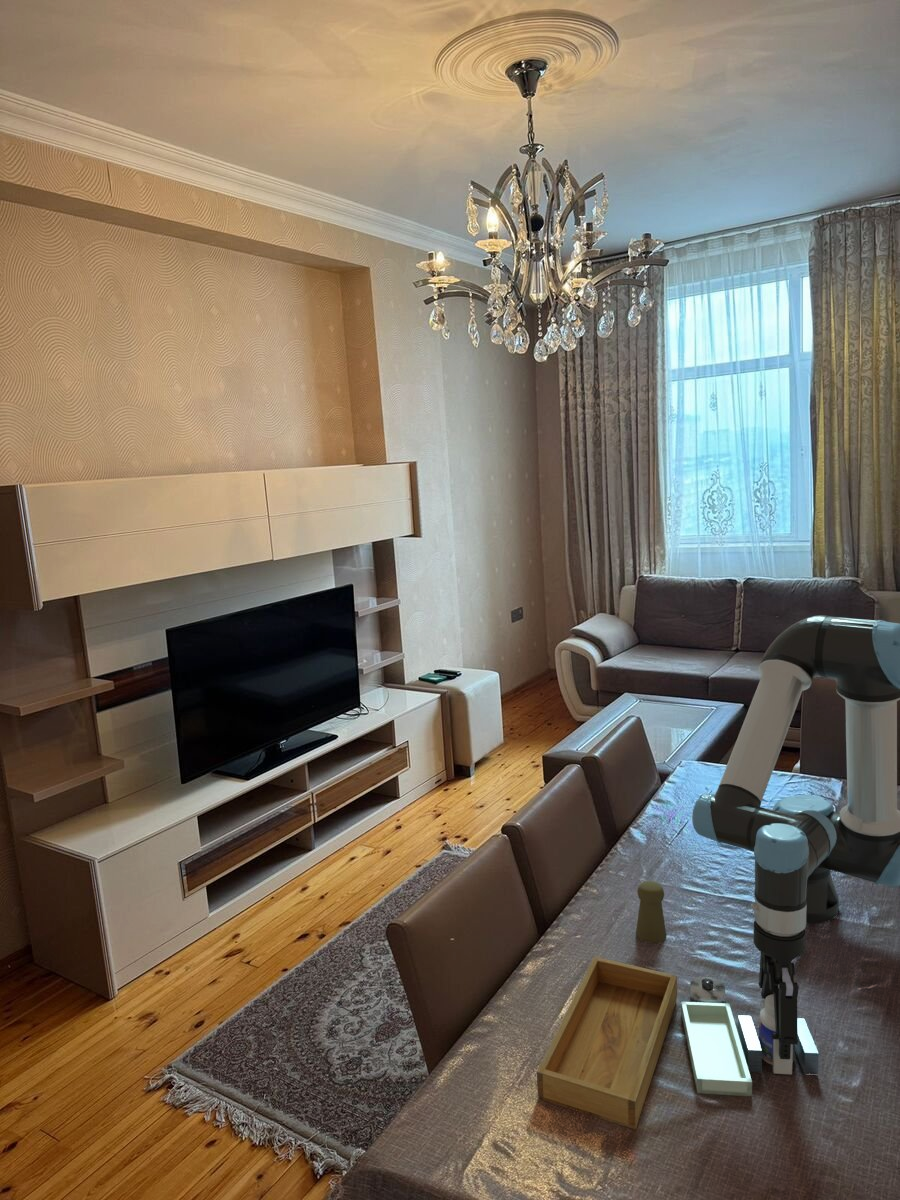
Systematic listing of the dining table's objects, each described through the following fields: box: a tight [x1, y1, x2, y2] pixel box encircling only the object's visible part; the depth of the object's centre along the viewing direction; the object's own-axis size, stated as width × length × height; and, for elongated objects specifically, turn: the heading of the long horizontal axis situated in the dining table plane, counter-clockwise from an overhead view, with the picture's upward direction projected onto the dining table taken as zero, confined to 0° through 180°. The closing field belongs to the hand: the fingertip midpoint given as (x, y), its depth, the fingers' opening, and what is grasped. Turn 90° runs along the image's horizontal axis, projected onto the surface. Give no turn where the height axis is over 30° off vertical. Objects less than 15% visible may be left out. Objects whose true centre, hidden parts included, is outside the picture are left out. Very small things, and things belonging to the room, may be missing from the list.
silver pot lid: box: [689, 976, 726, 1003], centre depth 148 cm, size 6×6×3 cm
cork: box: [635, 880, 667, 944], centre depth 167 cm, size 6×6×11 cm
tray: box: [536, 956, 678, 1130], centre depth 137 cm, size 31×15×6 cm, turn 154°
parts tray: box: [680, 1001, 753, 1097], centre depth 135 cm, size 8×18×2 cm, turn 172°
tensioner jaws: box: [737, 1015, 820, 1075], centre depth 133 cm, size 10×8×4 cm
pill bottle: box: [758, 994, 795, 1066], centre depth 133 cm, size 5×5×10 cm
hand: (776, 1054), depth 134 cm, fingers open, 7 cm apart
